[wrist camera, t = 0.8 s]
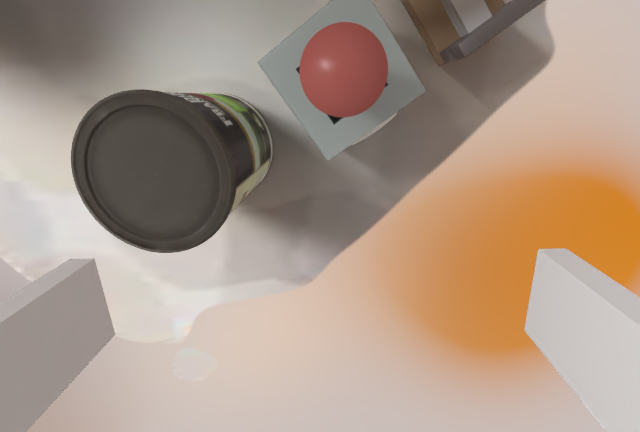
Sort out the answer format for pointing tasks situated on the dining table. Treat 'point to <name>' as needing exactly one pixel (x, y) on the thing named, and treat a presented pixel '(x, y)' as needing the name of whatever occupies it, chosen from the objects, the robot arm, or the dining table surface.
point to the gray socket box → (324, 129)
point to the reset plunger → (343, 69)
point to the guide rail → (463, 23)
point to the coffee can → (168, 164)
